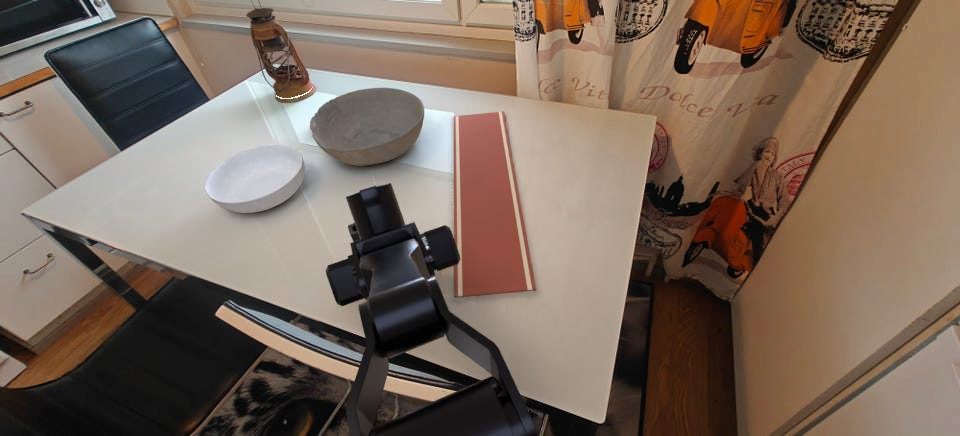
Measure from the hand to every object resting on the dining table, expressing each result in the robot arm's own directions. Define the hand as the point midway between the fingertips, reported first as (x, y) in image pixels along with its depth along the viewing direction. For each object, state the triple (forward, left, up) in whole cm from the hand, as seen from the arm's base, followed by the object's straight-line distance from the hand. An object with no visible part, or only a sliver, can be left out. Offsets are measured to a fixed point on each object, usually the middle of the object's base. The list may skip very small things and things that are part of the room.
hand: (395, 261), depth 68 cm
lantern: (+92, +5, -7) cm, 92 cm away
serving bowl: (+42, +19, -7) cm, 46 cm away
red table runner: (+17, -26, -7) cm, 32 cm away
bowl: (+46, -9, -7) cm, 47 cm away
